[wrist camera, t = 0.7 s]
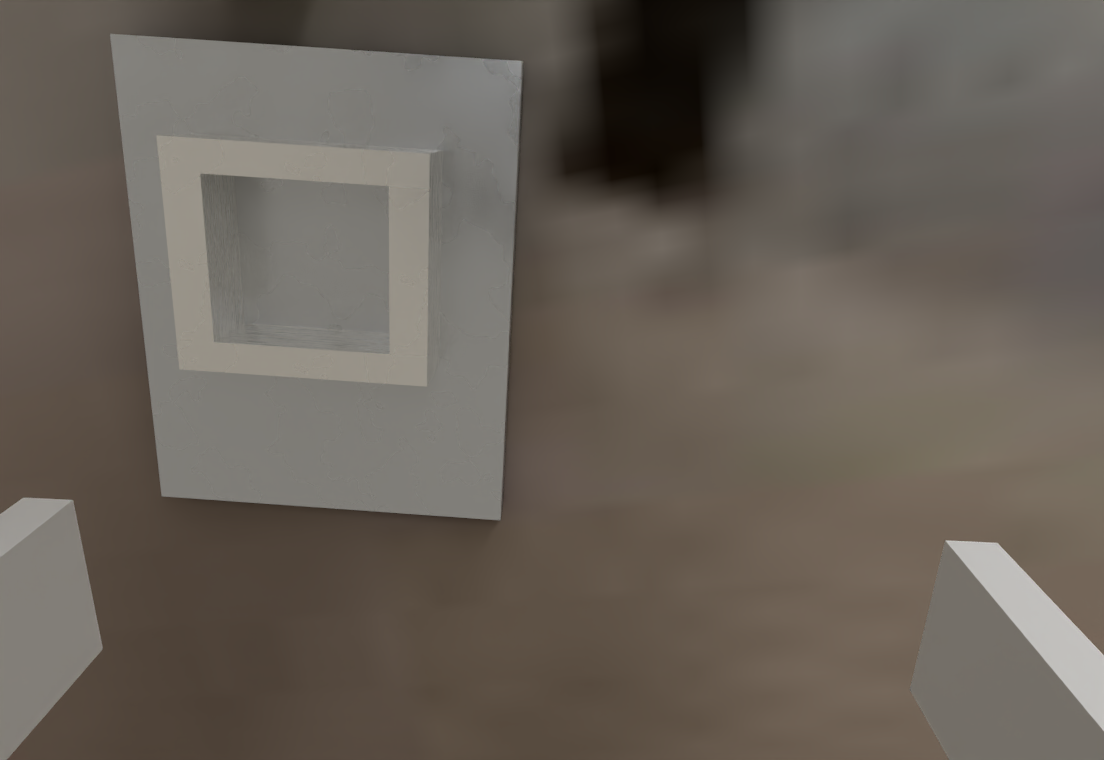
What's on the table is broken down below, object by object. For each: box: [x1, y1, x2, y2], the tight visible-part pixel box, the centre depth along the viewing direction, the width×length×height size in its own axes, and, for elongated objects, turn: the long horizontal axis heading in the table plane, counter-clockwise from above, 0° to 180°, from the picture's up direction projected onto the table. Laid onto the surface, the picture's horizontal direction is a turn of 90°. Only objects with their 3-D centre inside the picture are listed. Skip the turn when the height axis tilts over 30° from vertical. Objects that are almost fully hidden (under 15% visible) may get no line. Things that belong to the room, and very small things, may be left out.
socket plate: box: [110, 34, 524, 520], centre depth 32 cm, size 20×16×4 cm
